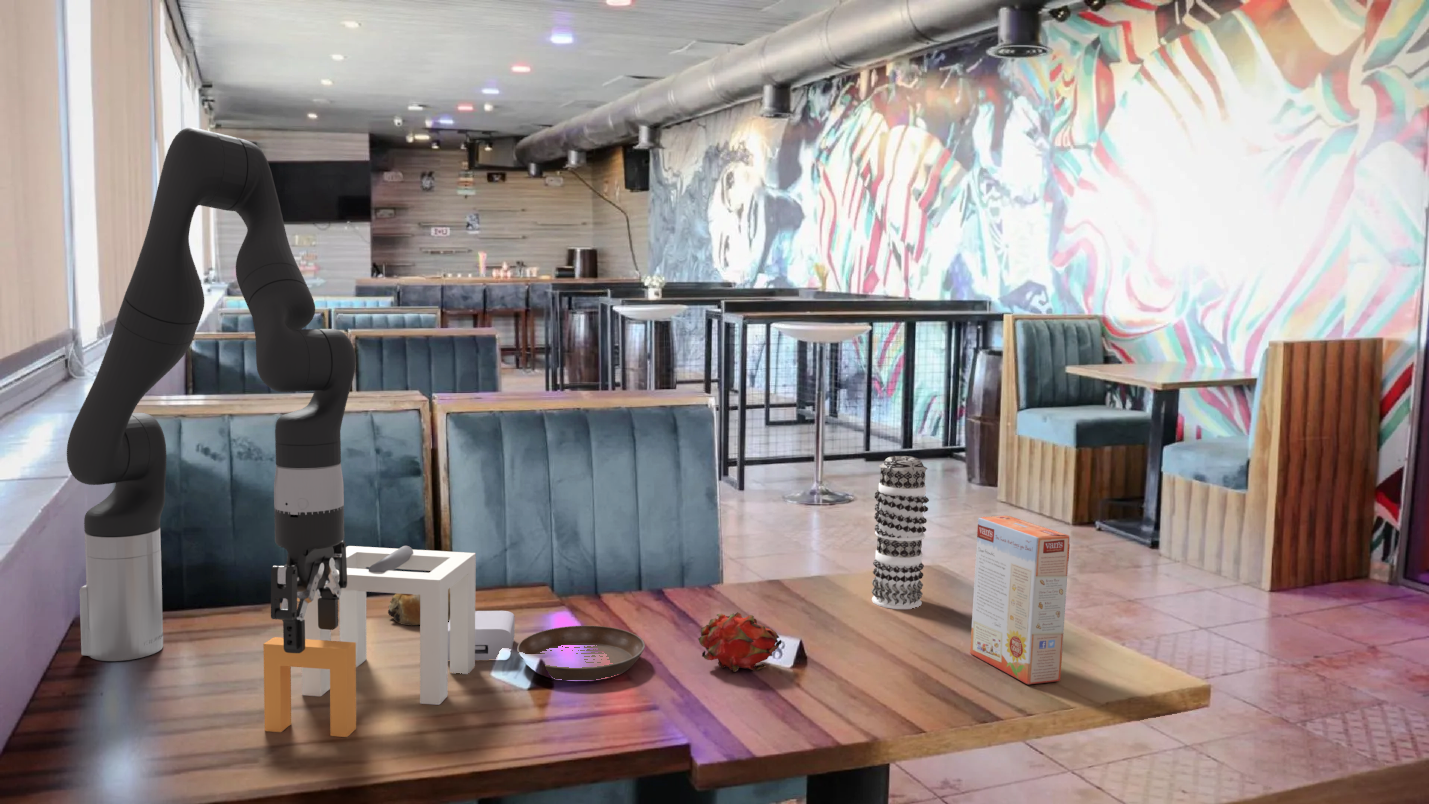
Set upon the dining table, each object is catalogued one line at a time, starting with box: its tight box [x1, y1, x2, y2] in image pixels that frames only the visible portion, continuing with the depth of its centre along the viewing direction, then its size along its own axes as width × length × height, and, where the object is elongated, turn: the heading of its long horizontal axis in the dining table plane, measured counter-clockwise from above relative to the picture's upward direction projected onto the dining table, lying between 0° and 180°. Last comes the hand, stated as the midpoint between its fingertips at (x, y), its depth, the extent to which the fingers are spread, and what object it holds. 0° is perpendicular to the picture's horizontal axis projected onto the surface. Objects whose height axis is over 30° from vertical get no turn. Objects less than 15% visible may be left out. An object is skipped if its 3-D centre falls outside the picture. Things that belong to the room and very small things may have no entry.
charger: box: [448, 610, 516, 660], centre depth 163 cm, size 5×9×15 cm
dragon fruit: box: [697, 612, 782, 673], centre depth 156 cm, size 8×8×12 cm
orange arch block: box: [262, 636, 357, 738], centre depth 130 cm, size 10×2×10 cm, turn 84°
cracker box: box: [969, 515, 1071, 685], centre depth 158 cm, size 14×6×21 cm, turn 21°
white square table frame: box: [301, 545, 477, 706], centre depth 146 cm, size 18×14×17 cm
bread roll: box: [387, 588, 450, 626], centre depth 174 cm, size 10×10×8 cm
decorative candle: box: [871, 455, 930, 610], centre depth 189 cm, size 9×9×25 cm
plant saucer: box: [516, 625, 646, 680], centre depth 155 cm, size 18×18×3 cm
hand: (311, 639), depth 129 cm, fingers open, 8 cm apart
